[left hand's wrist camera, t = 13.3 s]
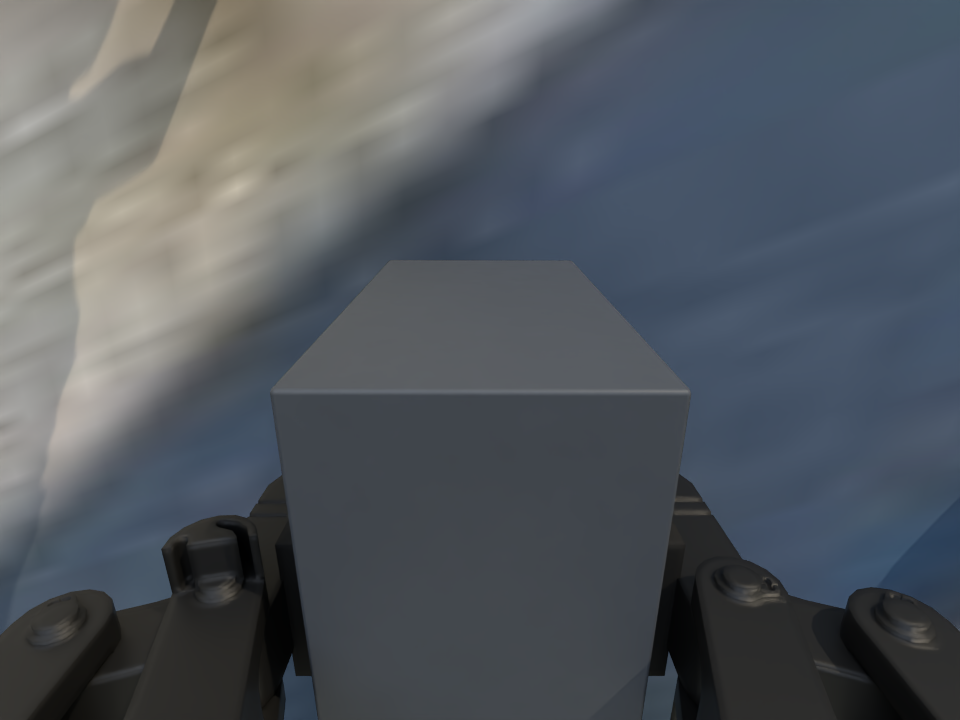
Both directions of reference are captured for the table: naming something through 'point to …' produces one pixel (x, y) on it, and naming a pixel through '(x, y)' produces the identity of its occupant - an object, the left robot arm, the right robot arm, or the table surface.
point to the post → (480, 496)
